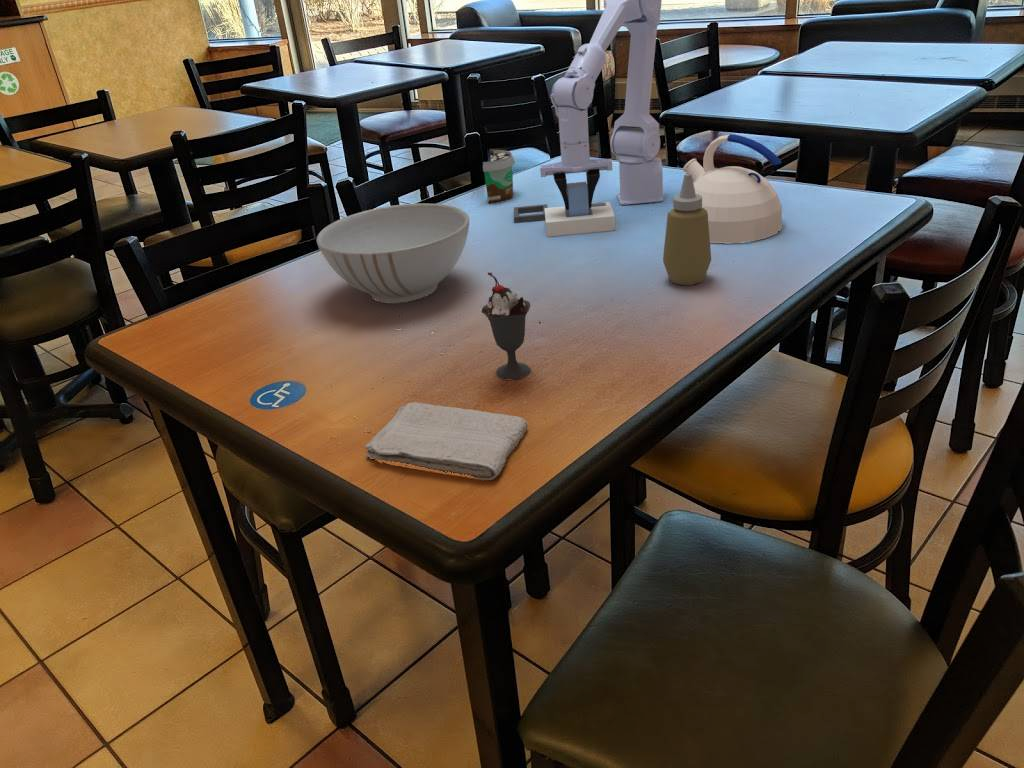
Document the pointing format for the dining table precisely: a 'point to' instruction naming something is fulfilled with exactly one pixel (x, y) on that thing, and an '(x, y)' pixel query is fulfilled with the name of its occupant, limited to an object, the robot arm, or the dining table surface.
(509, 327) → the sundae
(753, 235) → the kettle
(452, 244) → the decorative bowl
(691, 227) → the squeeze bottle
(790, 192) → the dining table surface
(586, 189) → the plug
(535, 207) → the dark square tray
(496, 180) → the food container
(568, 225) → the panel
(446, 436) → the washcloth
